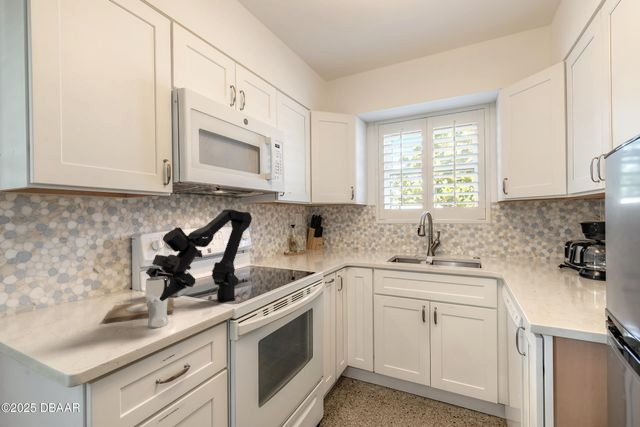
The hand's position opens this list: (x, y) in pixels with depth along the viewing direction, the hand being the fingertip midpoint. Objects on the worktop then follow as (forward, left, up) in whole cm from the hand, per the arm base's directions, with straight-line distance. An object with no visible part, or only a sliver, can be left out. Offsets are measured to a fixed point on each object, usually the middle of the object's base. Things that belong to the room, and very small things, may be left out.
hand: (153, 299), depth 92 cm
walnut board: (+5, -18, -9) cm, 20 cm away
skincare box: (-5, -38, -9) cm, 39 cm away
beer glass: (-1, -1, -9) cm, 9 cm away
